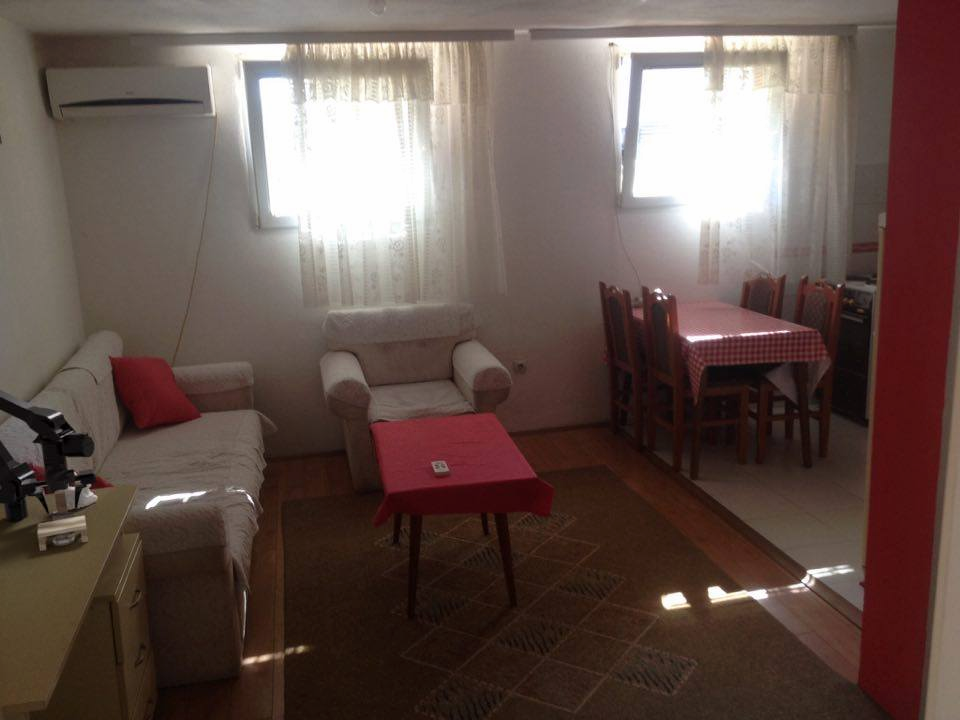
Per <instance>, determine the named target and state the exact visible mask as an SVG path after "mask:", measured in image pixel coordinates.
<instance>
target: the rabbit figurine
mask: <svg viewBox="0 0 960 720" xmlns="http://www.w3.org/2000/svg"><path fill="white" fill-rule="evenodd" d="M74 475H78V474H77V473H76V472H75V471H74ZM69 485H70V484H68V488H67V489H65V496H66V503H67V510H68V511H70V510H74V509H75V486H69ZM91 487H92V484H88V485H87V487H86V488H83V489H82V491H81V494H80V497H79V502H78V506H77V509H81V508H83V507H86V506H89V505H91V504H94V503H96V502H97V500H98V496H97V495H95V494H94V493H93V491H91V490H90V488H91ZM57 491H62V490H57ZM80 507H81V508H80ZM77 509H76V510H77ZM52 514H53V515H56V514H57V509H56V510H55V511H53V512H52Z"/></svg>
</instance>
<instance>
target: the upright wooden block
mask: <svg viewBox="0 0 960 720" xmlns="http://www.w3.org/2000/svg"><path fill="white" fill-rule="evenodd" d="M54 499H55V506H56V510H57V513H56V514H53V515H51V521H56V520H61V519H67V518H72V517H75V516H74V511H69V510H68V508H67V503H66V496H65V490H62V491H58V490H56V491H54ZM68 511H69V512H68ZM75 532H76V531H72V532H67V533H75ZM67 533H61V534H67ZM61 534H56V535H52V536H53V537H55V536H58V535H61Z"/></svg>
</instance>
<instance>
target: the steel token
mask: <svg viewBox="0 0 960 720" xmlns="http://www.w3.org/2000/svg"><path fill="white" fill-rule="evenodd" d="M75 537H76V536H75V534H74V533H72V532H70V533H65V534H60V535H55V536H53V538H52V543H53V546H56V547H57V546H60V547H62V546H66V545H70V544H72V543H74V542H75V541H76V538H75Z"/></svg>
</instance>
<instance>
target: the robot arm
mask: <svg viewBox="0 0 960 720" xmlns="http://www.w3.org/2000/svg"><path fill="white" fill-rule="evenodd" d="M0 411H1V412H4V413H6V414H7V415H10V416H12V417H15V418H16V419H19V420H20V421H23V422H24V423H25V424H26V425H27V426H28V428H29V429H30V430H31V431H33V432H34V433H35V434H37V436H36V437H35V438H34V440H32V443H33V444H39V443H41V445H40V446H41V453H42V459H43V460H42V461H43V467H44V480H40V481H39V480H38V481H37V479H36V476H35V471H34V470H32V468H31V467H30V465H29V463H28V462H27V461H23V462H19V461H17V460H16V459H14V457H13V456H12V455H11V453H10V452H9V450H8V448H7V447H5V445H4V443H3V442H2V440H0V504H2V505H3V511H4V516H5V520H6V521H7V522H10V523H14V522H20V521H23V520H25V519H26V518H27V517H29V515H30V514H29V508H28V500H27V495H30V496H31V497H35V498H37V500H38V501H39V502H40V503H41V505H42V507H43V508H44V510H45V512H46V514H47V515H50V509H49V508H50V507H49V504H48V500H47V497H46V494H45V489H44V488H47V489H48V491H49V492H51V493H53V492H54V493H55V492H56V491H58V490H65V489H67V488H68V485H70V484H73V483H74V487H75V508H74V509H75V510H77V506H78V502H79V497H80V494H81V491H82V489H83V488H86V487H87V485H88V484H91V485H93V484H97V480H96V479H97V478H96V472H95V470H94V469H92V468H91V469H85V470H79V472H78V474H77V475H74V472H75V469H69V466H68V465H69V464H68V458H69V459H70V458H73V459H74V458H90V457H92V456H93V454H94V452H95V442H94V440H93V438H92V437H91V436H89V433H88V431H87V432H86V431H83V432H76V429H74V427H73V426H71V424H70V423H69V422H68V420H66V419H65V417H64V416H65V415H64V414H63V413H62V412H60V411H58V410H55V409H53V408H47V407H39V406H36V405H33V404H30V403H29V402H26V401H25V400H22V399H20V398H18V397H16V396H14V395H12V394H9V393H8V392H6V391H4V390H1V389H0Z"/></svg>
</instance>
